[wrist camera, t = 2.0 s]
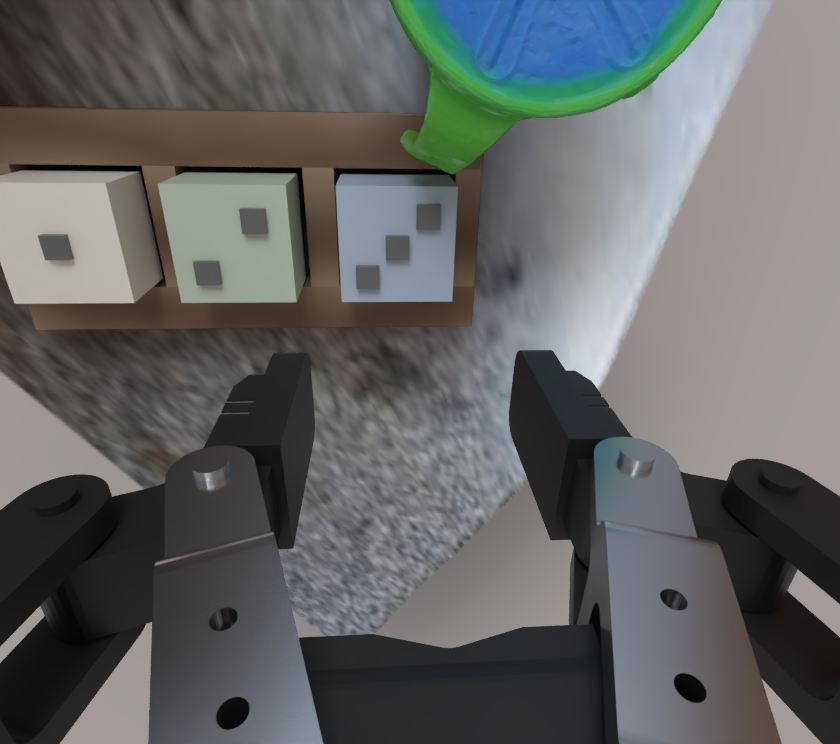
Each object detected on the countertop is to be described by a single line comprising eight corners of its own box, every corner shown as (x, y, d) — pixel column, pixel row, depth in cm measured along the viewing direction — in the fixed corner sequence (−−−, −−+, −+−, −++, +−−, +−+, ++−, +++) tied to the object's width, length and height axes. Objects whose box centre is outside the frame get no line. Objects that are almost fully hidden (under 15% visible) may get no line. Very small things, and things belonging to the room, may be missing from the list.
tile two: (185, 171, 24) (154, 184, 21) (297, 173, 25) (284, 186, 21) (204, 278, 27) (179, 305, 23) (305, 278, 27) (295, 304, 24)
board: (-9, 105, 24) (-41, 107, 22) (478, 114, 25) (486, 116, 24) (57, 314, 29) (36, 329, 27) (466, 312, 30) (471, 326, 28)
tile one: (24, 170, 24) (-34, 183, 21) (140, 171, 24) (102, 184, 21) (57, 278, 26) (10, 306, 23) (163, 277, 27) (132, 305, 23)
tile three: (340, 173, 25) (334, 186, 21) (448, 174, 25) (459, 187, 22) (346, 277, 27) (341, 304, 24) (444, 277, 27) (453, 303, 24)
